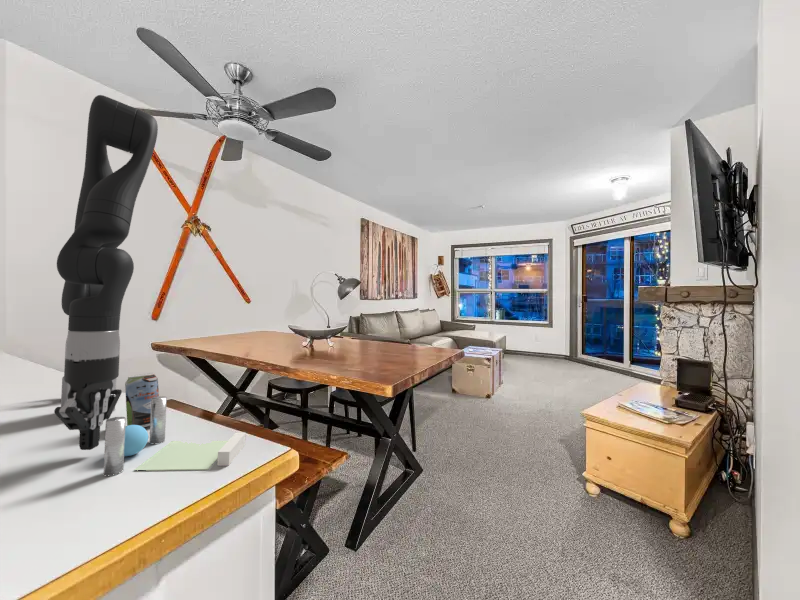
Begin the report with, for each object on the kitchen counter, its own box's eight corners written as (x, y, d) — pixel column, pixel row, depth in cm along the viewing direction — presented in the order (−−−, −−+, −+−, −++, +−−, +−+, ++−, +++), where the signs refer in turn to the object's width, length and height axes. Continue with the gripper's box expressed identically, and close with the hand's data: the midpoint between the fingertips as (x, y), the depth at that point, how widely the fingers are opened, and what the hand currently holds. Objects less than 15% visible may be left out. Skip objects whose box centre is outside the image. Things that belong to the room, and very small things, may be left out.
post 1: (99, 476, 56) (101, 422, 56) (110, 468, 59) (113, 416, 59) (116, 476, 57) (118, 422, 57) (127, 468, 59) (129, 416, 59)
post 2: (146, 444, 69) (148, 399, 69) (154, 439, 72) (156, 396, 72) (160, 444, 69) (162, 399, 69) (167, 439, 72) (169, 396, 72)
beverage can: (142, 433, 74) (144, 378, 74) (114, 429, 76) (117, 375, 76) (167, 423, 80) (169, 372, 80) (141, 419, 82) (143, 369, 82)
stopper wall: (217, 465, 62) (217, 451, 62) (235, 444, 70) (235, 432, 71) (228, 465, 62) (229, 451, 62) (245, 444, 71) (245, 432, 71)
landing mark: (133, 471, 59) (133, 470, 59) (171, 442, 70) (172, 441, 70) (207, 469, 60) (207, 468, 60) (232, 441, 72) (232, 440, 72)
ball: (137, 429, 62) (138, 459, 62) (153, 419, 67) (154, 447, 67) (102, 432, 61) (104, 463, 61) (122, 422, 67) (123, 450, 66)
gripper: (98, 348, 69) (94, 434, 69) (37, 360, 56) (32, 465, 56) (138, 349, 70) (134, 434, 70) (86, 361, 57) (82, 465, 57)
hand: (89, 448), depth 63 cm, fingers closed
